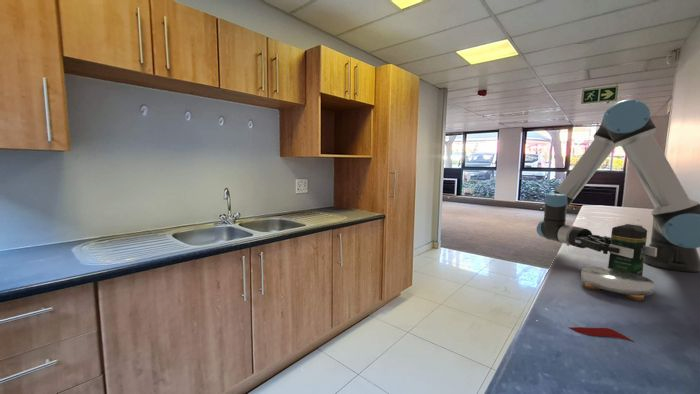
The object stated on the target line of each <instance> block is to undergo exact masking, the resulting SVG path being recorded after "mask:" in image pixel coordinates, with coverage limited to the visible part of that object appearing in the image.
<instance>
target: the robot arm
mask: <svg viewBox="0 0 700 394" xmlns="http://www.w3.org/2000/svg"><path fill="white" fill-rule="evenodd" d="M602 117H603V118H602V121H601V123H600V124H599V127H598V129H597V131H596V132H595V133H594V134H593V141H592V142H591V143H590V145H589V146H588V147H587V148H586V150H585V151H584V153H583V154H582V155H581V157H580V158H579V159H578V160H577V162H576V163H575V164H574V166H573V168H572V169H571V170H570V171H569V173H568V174H567V175H566V177H565V178H564V179H563V181H562V182H561V183H560V185H559V186H558V187H557V188H556V190H555V192H554V193H547V194H546V195H545V199H544V213H543V220H541V221H539V222H538V224H537V226H536V233H537V235H538V236H540V237H541V238H545V239H546V240H549V241H554V242H558V243H562V244H565V246H567V247H568V246H573V247H574V248H575V247H576V248H579V249H591V250H593V251H595V252H598V253H599V252H600V253H601V252H602V254H603V255H604V254H605V255H608V253H609V254H610V253H613V254H617V255H621V256H625V257H628V258H633V253H634V249H630V248H625V247H621V246H617V245H613V244H611V236H606V235H604V236H601V235H600V234H593V233H592V231H591V230H590V229H588V228H583V227H579V226H576V225H575V226H574V225H570V224H566V221H567V220H566V218H567V211H568V210H567V209H568V208H569V206H570V205H571V204H572V203H573V201H574V200H575V199H576V197H577V196H578V195H579V193H580V192H581V191H582V190H583V188H584V187H585V186H586V184H588V182H589V181H590V179H591V178H592V177H594V174H595V173H596V172H597V171H598V170H599V168H600V167H601V166H602V164H603V163H604V162H605V161H606V160H607V159H608V157H609V155H611V154H612V152H613V151H614V150H615V148H618V147H621V148H622V150H623V152H624V153H625V155H626V157H627V159H628V161H629V163H630V164H631V167H632V169H634V172H635V173H636V176H637V177H638V179H639V181H640V183H641V185H642V186H643V188H644V190H645V192H646V194H647V195H648V198H649V200H650V201H651V203H652V205H653V210H652V211H651V215H652V217H653V219H652V227H651V228H652V229H651V235H650V236H651V238H650V243H649V245H646V246H645V254H644V263H645V264H646V265H649V264H650V266H653V267H657V268H661V269H666V270H672V271H678V272H688V273H700V256H699V252H698V248H700V202H699V201H696V200H694V199H691V198H689V196H688V194H687V192H686V191H685V189H684V186H683V185H682V184H681V182H680V180H679V178H678V177H677V175H676V173H675V171H674V169H673V168H672V166H671V164H670V162H669V161H668V159H667V157H666V156H665V154H664V151H663V150H662V148H661V147H660V145H659V143H658V141H657V139H656V138H655V135H654V134H655V132H657V127H656V125H655V123H654V121H653V120H652V118H651V111H650V107H649V106H648V105H647V104H646V103H644V102H643V101H640V100H638V99H624V100H621V101H618V102H616V103H615V104H612V105H611V106H610V107H608V108H607V110H606V111H605V112H604V114H603V116H602Z"/></svg>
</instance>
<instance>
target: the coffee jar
mask: <svg viewBox="0 0 700 394" xmlns="http://www.w3.org/2000/svg"><path fill="white" fill-rule="evenodd" d="M647 235H648V230H647V229H646V228H644V227H643V226H642V225H638V224H633V223H632V224H631V223H626V224H622V225H617V226H614V227H612V229H611V236H610V237H611V244H613V245H617V246H621V247H625V248H630V249H634V253H633V258H628V257H625V256H621V255H617V254H613V253H610V252H609V259H608V265H607V268H611V269H617V270H622V271H627V272H631V273H634V274H638V275H641V276H643V271H644V263H645V262H644V254H645V246H647V245H646V243H647V237H648V236H647Z"/></svg>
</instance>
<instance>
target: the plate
mask: <svg viewBox="0 0 700 394" xmlns="http://www.w3.org/2000/svg"><path fill="white" fill-rule="evenodd" d="M580 279H581V281H583V282H584V288H586V289H589V290H590V291H592V290H593V291H600V289H601V290H605V291H607V292H612V293H617V294H623V295H626V296H625V297H626V298H628V299H630V300H632V301H637V302H644V301H645V296H649V295H653V294H654V288H655V287H654V286H655V284H654V283H655V282H654V281H653V280H651V279H650V278H648V277H646V276H644V275H642V276H641V275H638V274H634V273H631V272H627V271H622V270H617V269H611V268H608V267H601V266H587V267H583V268H582V269H581V274H580Z"/></svg>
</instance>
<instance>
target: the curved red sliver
mask: <svg viewBox="0 0 700 394" xmlns="http://www.w3.org/2000/svg"><path fill="white" fill-rule="evenodd" d="M567 328H568V329H570V330H573V331H574V332H575V333H579V334H582V335H586V336H594V337H605V338H606V337H607V338H614V339H615V338H616V339H621V340H627V341H630V342H633V343H635V341H634V340H633V339H631V338H629V337H627V336H626V335H624V334H622V333H620V332H619V331H616V330H614V329H612V328H609V327H585V326H584V327H583V326H582V327H580V326H579V327H577V326H574V327H572V326H569V327H567Z"/></svg>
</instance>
